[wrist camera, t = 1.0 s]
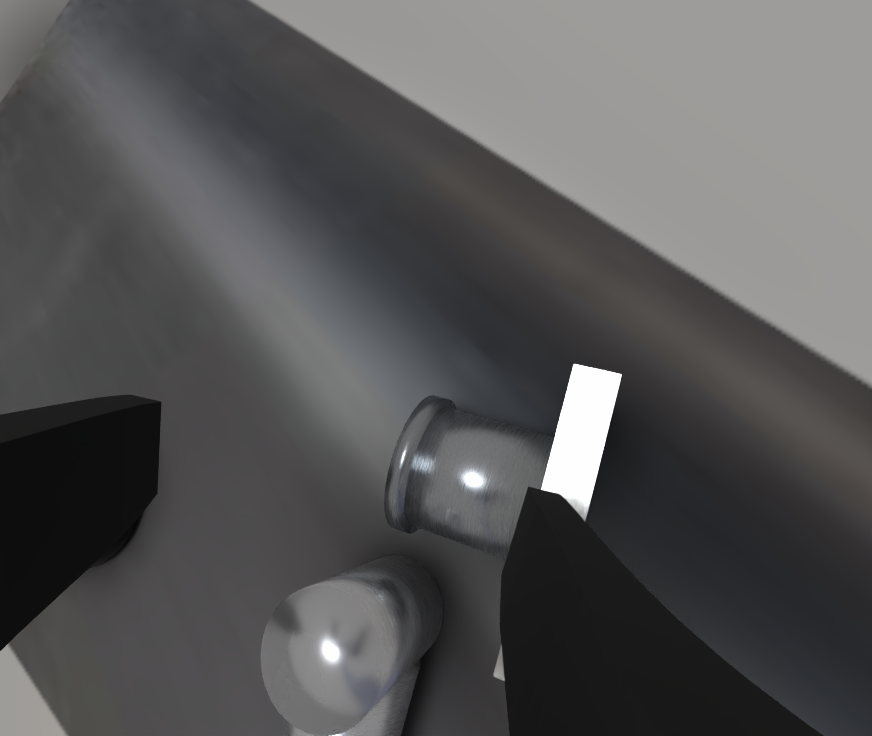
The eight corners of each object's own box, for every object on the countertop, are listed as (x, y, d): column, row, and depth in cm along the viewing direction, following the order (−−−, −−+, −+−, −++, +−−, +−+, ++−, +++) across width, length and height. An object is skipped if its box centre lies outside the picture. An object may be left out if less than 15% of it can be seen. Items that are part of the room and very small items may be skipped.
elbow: (366, 540, 21) (284, 566, 16) (455, 575, 20) (399, 616, 14) (309, 737, 21) (201, 837, 15) (397, 787, 19) (315, 918, 14)
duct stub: (614, 407, 20) (621, 374, 13) (561, 617, 19) (541, 697, 12) (463, 370, 22) (402, 325, 15) (410, 557, 21) (321, 598, 14)
